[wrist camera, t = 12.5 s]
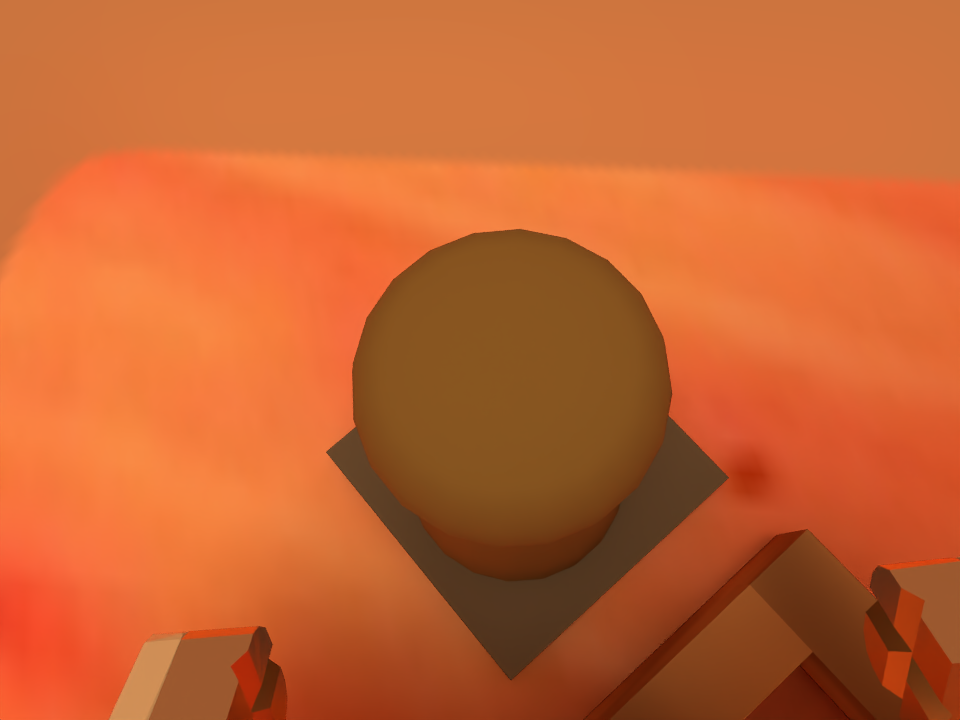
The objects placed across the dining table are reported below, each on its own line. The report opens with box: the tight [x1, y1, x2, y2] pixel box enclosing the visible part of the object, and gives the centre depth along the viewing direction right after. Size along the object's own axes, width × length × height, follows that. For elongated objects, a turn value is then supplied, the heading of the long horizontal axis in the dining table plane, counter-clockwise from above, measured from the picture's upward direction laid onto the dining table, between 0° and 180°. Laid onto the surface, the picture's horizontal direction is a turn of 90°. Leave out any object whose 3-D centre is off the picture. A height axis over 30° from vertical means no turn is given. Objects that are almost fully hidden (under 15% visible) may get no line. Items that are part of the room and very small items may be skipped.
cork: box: [352, 229, 672, 582], centre depth 16 cm, size 6×6×11 cm
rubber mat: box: [326, 416, 729, 680], centre depth 22 cm, size 8×8×1 cm
